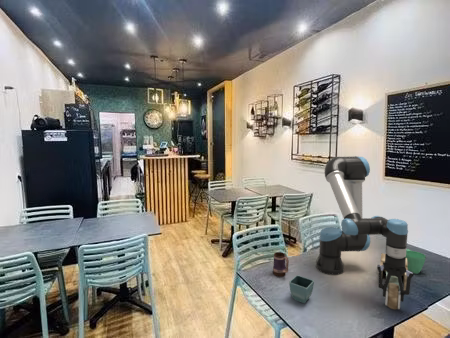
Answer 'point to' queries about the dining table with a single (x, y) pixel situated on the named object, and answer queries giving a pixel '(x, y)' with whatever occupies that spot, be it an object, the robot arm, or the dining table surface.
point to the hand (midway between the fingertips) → (392, 305)
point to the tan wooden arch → (402, 275)
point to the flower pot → (301, 288)
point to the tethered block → (393, 292)
